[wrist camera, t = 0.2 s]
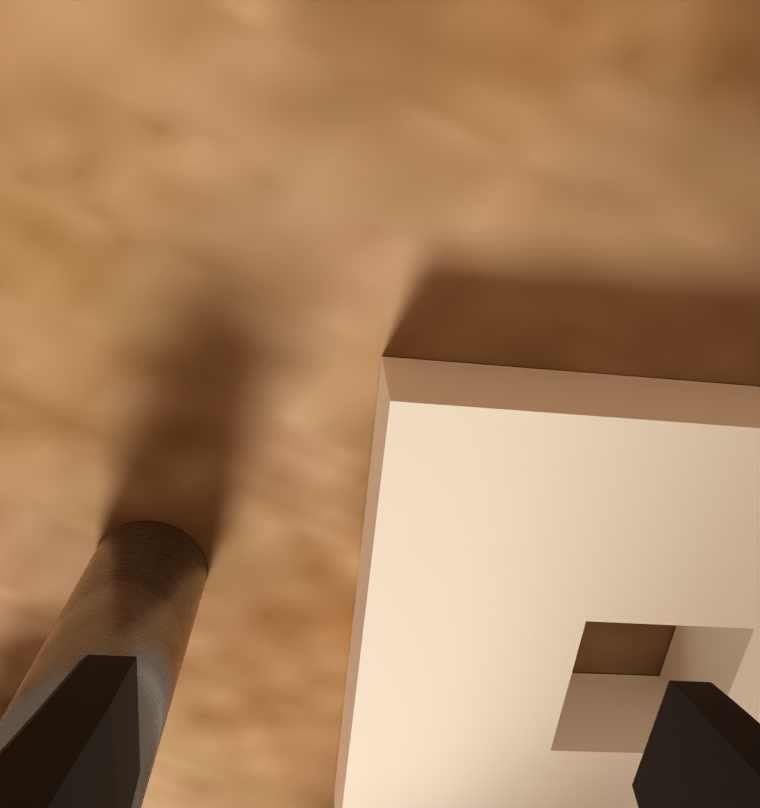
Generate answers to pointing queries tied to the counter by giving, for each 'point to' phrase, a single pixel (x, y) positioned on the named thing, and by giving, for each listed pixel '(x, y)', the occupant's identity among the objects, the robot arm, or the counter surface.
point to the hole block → (541, 579)
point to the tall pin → (124, 627)
